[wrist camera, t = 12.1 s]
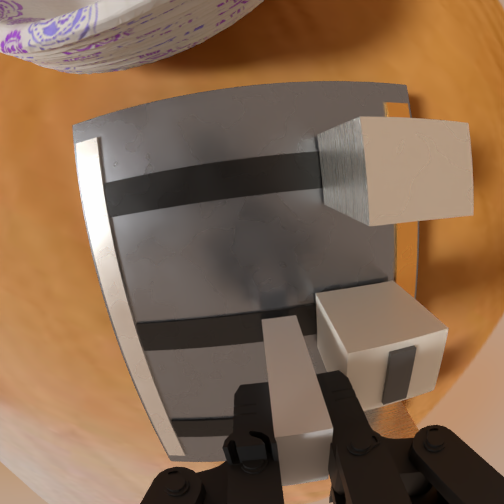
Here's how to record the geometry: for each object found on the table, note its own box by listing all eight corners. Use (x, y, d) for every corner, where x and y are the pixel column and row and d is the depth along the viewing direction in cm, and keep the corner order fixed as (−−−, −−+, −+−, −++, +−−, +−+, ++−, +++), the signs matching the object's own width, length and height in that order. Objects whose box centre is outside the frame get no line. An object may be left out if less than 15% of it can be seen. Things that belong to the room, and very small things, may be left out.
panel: (174, 442, 19) (159, 518, 12) (90, 129, 14) (0, 113, 7) (382, 415, 19) (416, 485, 12) (388, 92, 13) (474, 57, 6)
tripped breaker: (317, 346, 15) (344, 419, 10) (315, 293, 14) (349, 356, 9) (389, 332, 15) (436, 392, 10) (393, 280, 14) (451, 330, 9)
